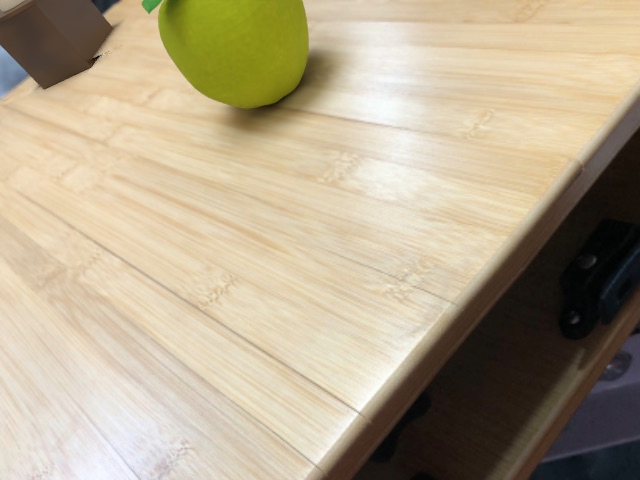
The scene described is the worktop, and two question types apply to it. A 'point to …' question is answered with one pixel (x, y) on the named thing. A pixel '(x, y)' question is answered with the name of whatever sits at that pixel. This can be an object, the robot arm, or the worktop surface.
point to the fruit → (236, 46)
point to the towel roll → (9, 4)
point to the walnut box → (53, 37)
